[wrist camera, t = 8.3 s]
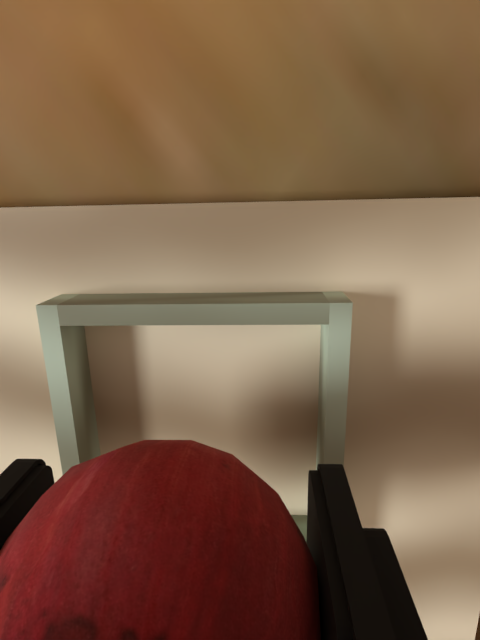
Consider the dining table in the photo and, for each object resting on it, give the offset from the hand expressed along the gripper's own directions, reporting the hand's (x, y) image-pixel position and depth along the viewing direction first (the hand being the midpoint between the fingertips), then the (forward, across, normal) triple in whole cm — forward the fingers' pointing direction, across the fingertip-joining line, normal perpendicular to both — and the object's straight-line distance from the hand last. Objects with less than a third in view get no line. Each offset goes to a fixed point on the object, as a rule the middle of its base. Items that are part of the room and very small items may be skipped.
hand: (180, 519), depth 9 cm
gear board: (+6, 0, +6) cm, 9 cm away
